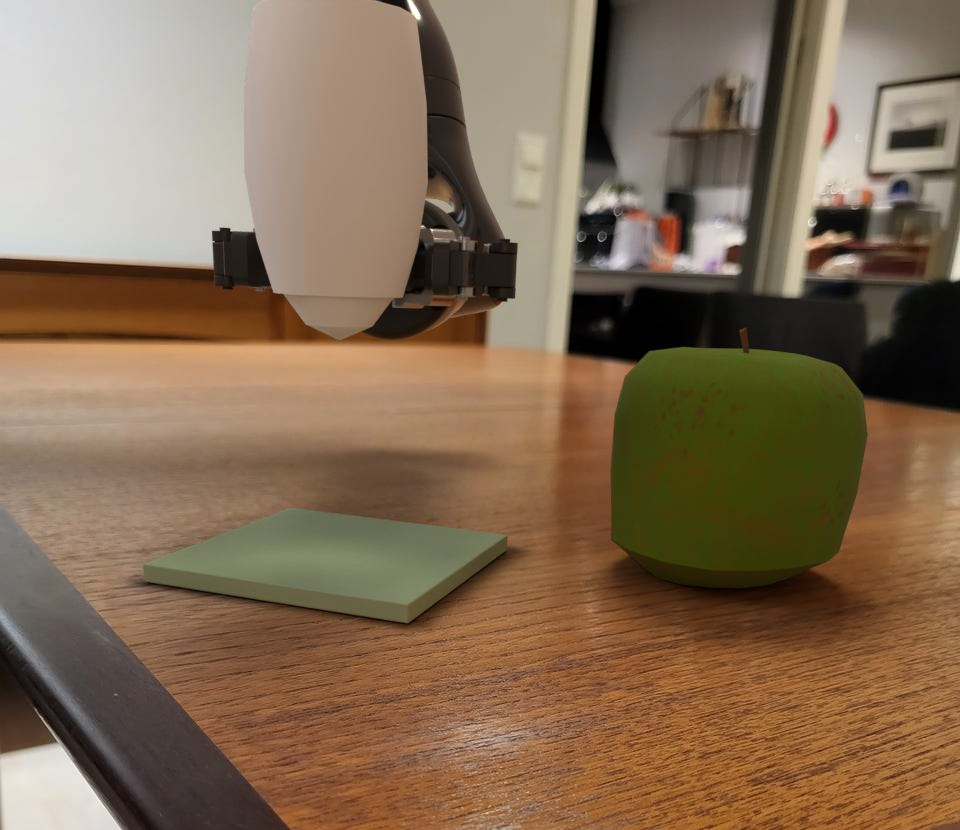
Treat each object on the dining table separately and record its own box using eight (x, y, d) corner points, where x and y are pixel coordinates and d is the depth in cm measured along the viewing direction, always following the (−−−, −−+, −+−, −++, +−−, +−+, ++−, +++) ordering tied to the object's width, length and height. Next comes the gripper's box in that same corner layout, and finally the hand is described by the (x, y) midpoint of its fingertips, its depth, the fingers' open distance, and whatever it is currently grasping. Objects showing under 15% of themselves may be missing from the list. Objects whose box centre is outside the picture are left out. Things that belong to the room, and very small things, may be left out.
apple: (810, 627, 39) (857, 340, 36) (562, 579, 44) (580, 322, 40) (860, 565, 49) (901, 331, 45) (649, 531, 53) (671, 317, 50)
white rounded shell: (259, 570, 41) (236, -19, 34) (259, 528, 48) (239, 27, 40) (434, 567, 42) (446, 1, 35) (410, 526, 49) (416, 43, 42)
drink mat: (143, 582, 42) (142, 563, 41) (289, 522, 52) (289, 507, 52) (408, 624, 38) (408, 604, 38) (507, 550, 49) (508, 534, 48)
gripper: (277, 190, 56) (167, 158, 41) (530, 199, 55) (514, 170, 40) (280, 329, 59) (179, 348, 43) (523, 341, 58) (505, 364, 42)
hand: (339, 263), depth 42 cm, fingers open, 8 cm apart
